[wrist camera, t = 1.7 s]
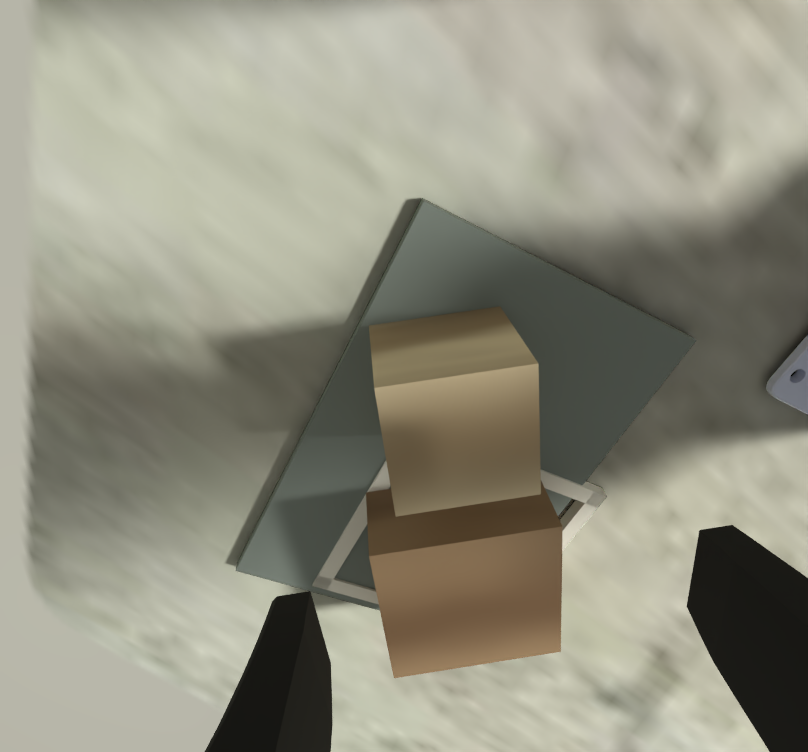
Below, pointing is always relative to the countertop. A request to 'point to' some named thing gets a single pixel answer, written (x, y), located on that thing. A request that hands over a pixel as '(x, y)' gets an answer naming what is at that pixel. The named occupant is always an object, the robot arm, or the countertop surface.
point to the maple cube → (456, 410)
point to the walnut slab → (466, 581)
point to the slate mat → (558, 397)
